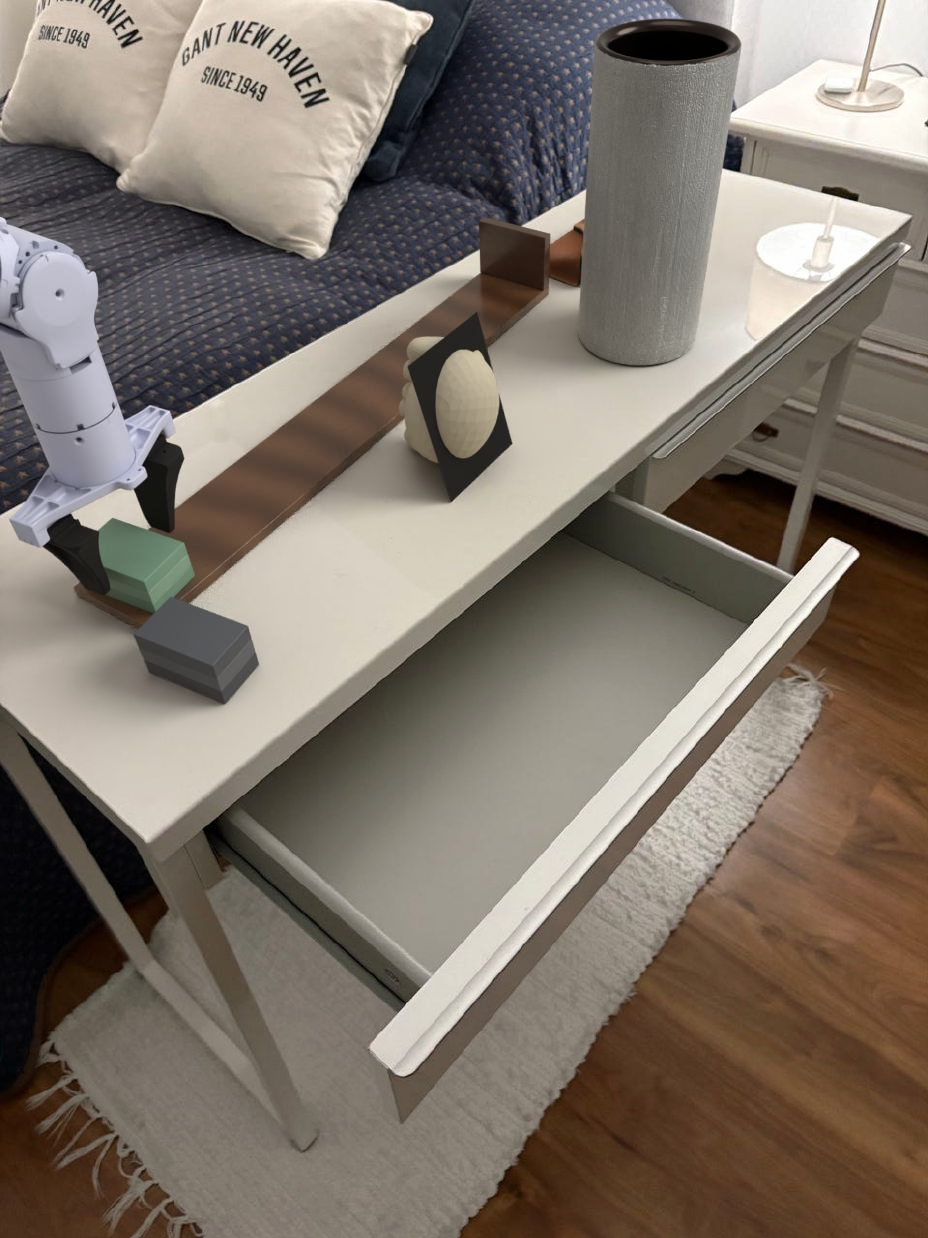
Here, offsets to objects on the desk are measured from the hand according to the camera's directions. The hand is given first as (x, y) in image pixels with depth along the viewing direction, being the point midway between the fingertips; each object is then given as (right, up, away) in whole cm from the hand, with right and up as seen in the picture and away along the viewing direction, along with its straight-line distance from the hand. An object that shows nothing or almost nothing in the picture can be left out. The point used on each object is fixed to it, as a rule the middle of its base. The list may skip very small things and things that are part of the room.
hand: (131, 557), depth 75 cm
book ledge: (+15, +14, +18) cm, 28 cm away
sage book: (0, 0, 0) cm, 0 cm away
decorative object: (+24, +10, +13) cm, 29 cm away
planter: (+44, +25, +27) cm, 57 cm away
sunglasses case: (+42, +39, +41) cm, 70 cm away
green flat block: (0, -2, +2) cm, 3 cm away
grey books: (+7, -8, -3) cm, 11 cm away
